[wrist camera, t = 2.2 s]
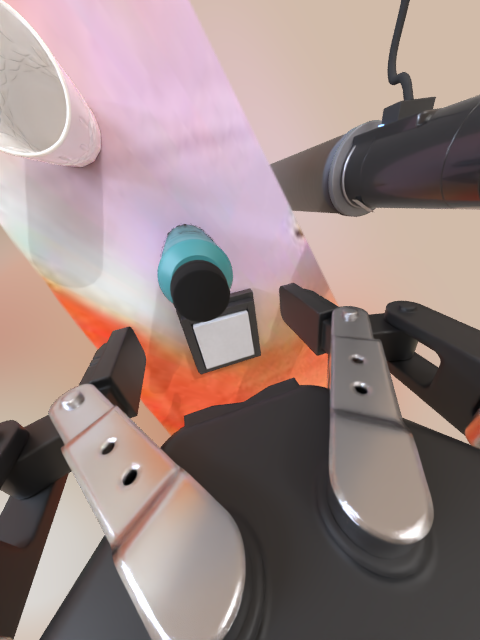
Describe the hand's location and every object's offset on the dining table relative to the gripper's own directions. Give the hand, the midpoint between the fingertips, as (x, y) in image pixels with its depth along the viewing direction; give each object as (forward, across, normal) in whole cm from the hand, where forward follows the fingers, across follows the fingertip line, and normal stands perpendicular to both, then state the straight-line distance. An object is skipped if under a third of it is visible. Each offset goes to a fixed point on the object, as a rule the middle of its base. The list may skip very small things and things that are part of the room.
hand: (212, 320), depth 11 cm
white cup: (+23, +9, -14) cm, 28 cm away
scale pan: (+21, -2, +16) cm, 26 cm away
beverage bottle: (+23, 0, 0) cm, 23 cm away
